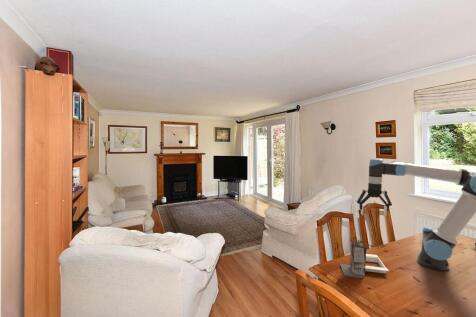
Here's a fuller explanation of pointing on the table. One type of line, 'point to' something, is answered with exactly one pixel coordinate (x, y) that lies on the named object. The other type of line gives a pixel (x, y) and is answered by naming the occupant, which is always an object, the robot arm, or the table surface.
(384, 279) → the table surface
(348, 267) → the plate
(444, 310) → the table surface
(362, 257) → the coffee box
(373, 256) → the white flat frame piece
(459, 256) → the table surface
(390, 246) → the table surface
